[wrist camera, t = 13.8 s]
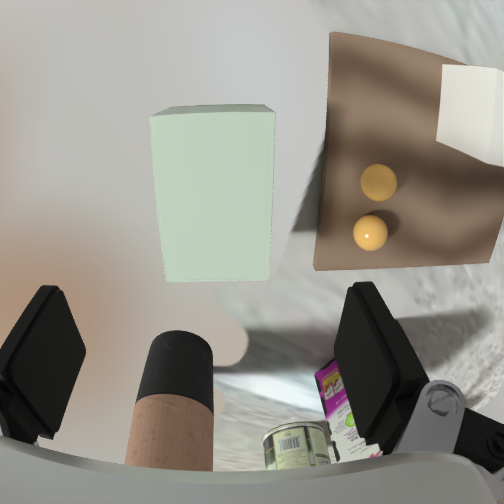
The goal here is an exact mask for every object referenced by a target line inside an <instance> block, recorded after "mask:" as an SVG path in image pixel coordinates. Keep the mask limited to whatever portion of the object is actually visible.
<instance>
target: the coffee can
mask: <svg viewBox="0 0 504 504" xmlns="http://www.w3.org/2000/svg"><path fill="white" fill-rule="evenodd" d="M262 442H263V446H264V455H265V464H266V470H280V469H292V468H302V467H311V466H319V465H327V464H331V461H330V457H329V452H328V448H327V444H326V439H325V435H324V429H323V428H322V427H321V426H320V425H318V424H314V423H309V422H298V423H291V424H287V425H283V426H280V427H277V428H275V429H272V430H271V431H269V432H268V433H267V434H265V436H264V437H263V440H262Z"/></svg>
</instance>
